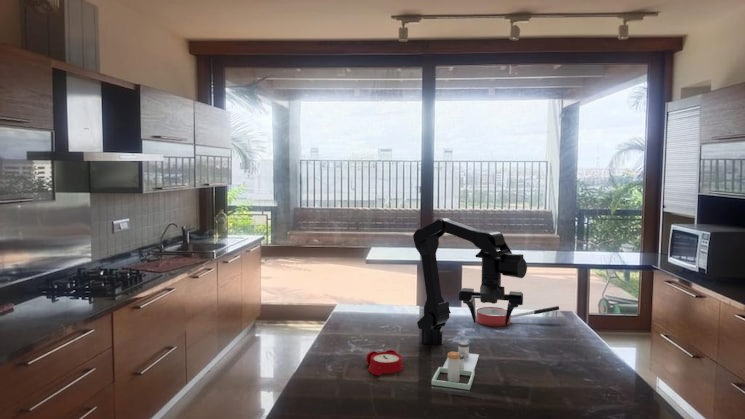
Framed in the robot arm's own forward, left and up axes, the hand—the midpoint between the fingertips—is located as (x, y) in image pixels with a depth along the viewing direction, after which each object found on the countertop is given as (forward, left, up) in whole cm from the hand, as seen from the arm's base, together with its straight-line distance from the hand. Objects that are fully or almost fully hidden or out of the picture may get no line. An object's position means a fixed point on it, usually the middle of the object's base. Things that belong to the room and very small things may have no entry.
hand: (490, 324), depth 157 cm
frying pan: (+6, +49, -12) cm, 51 cm away
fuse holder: (-8, -5, -12) cm, 15 cm away
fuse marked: (-8, -19, -12) cm, 24 cm away
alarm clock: (-29, -14, -12) cm, 35 cm away
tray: (-8, -19, -12) cm, 24 cm away
